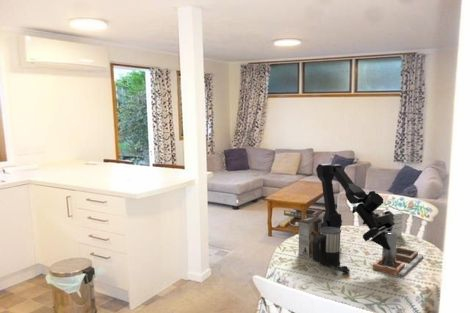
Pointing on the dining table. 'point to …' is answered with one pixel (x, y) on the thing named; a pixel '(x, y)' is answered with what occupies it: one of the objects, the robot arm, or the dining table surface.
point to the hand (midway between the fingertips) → (392, 247)
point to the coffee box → (308, 234)
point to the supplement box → (396, 222)
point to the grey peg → (390, 255)
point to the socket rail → (401, 268)
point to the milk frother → (328, 248)
